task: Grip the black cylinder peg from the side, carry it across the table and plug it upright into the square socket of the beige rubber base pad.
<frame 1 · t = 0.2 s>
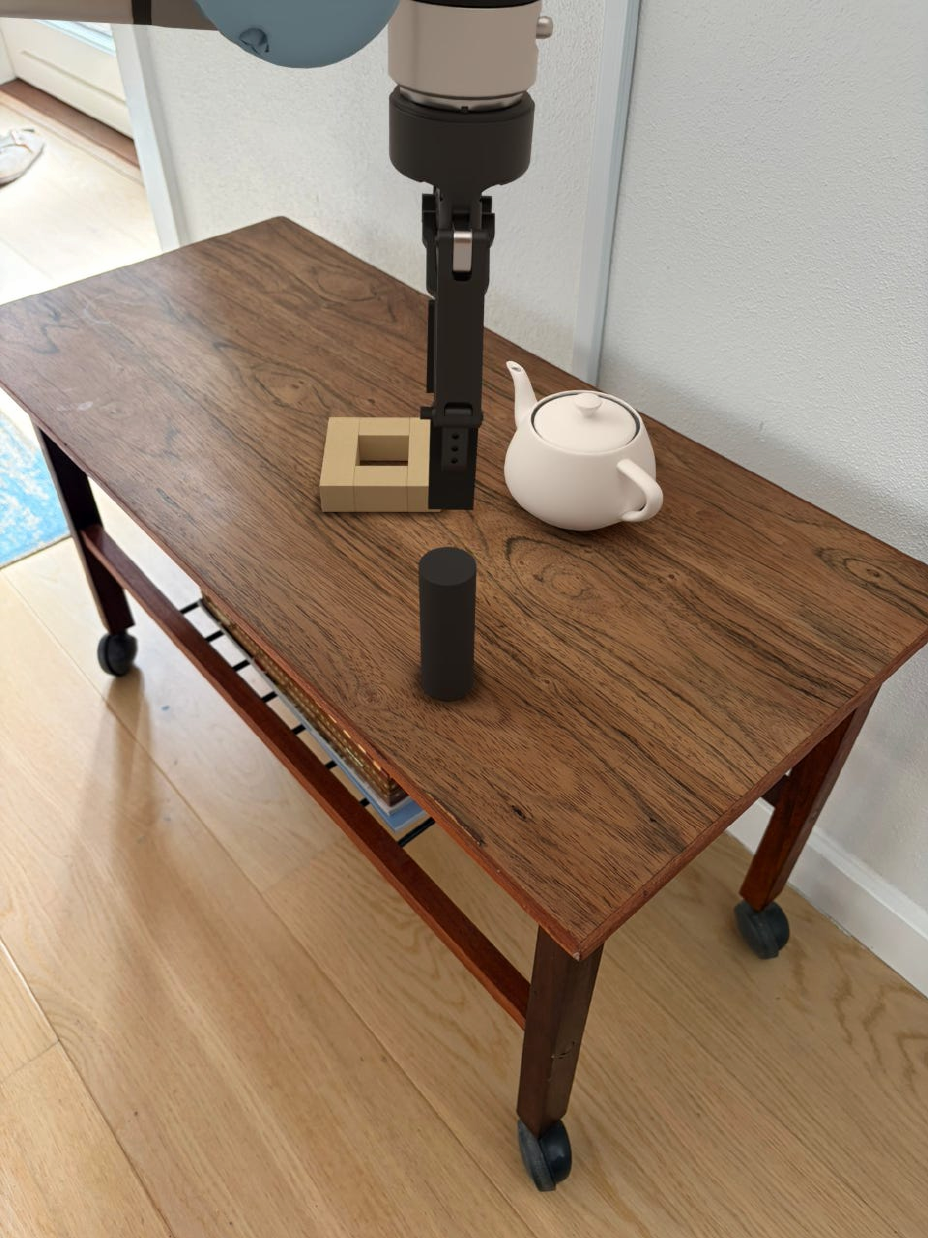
hand: (447, 444, 66), 20 cm above the table, tool pointing down, fingers open, 13 cm apart
black cylinder peg: (447, 681, 78), on the table
teapot: (571, 495, 95), on the table
base pad: (384, 476, 97), on the table
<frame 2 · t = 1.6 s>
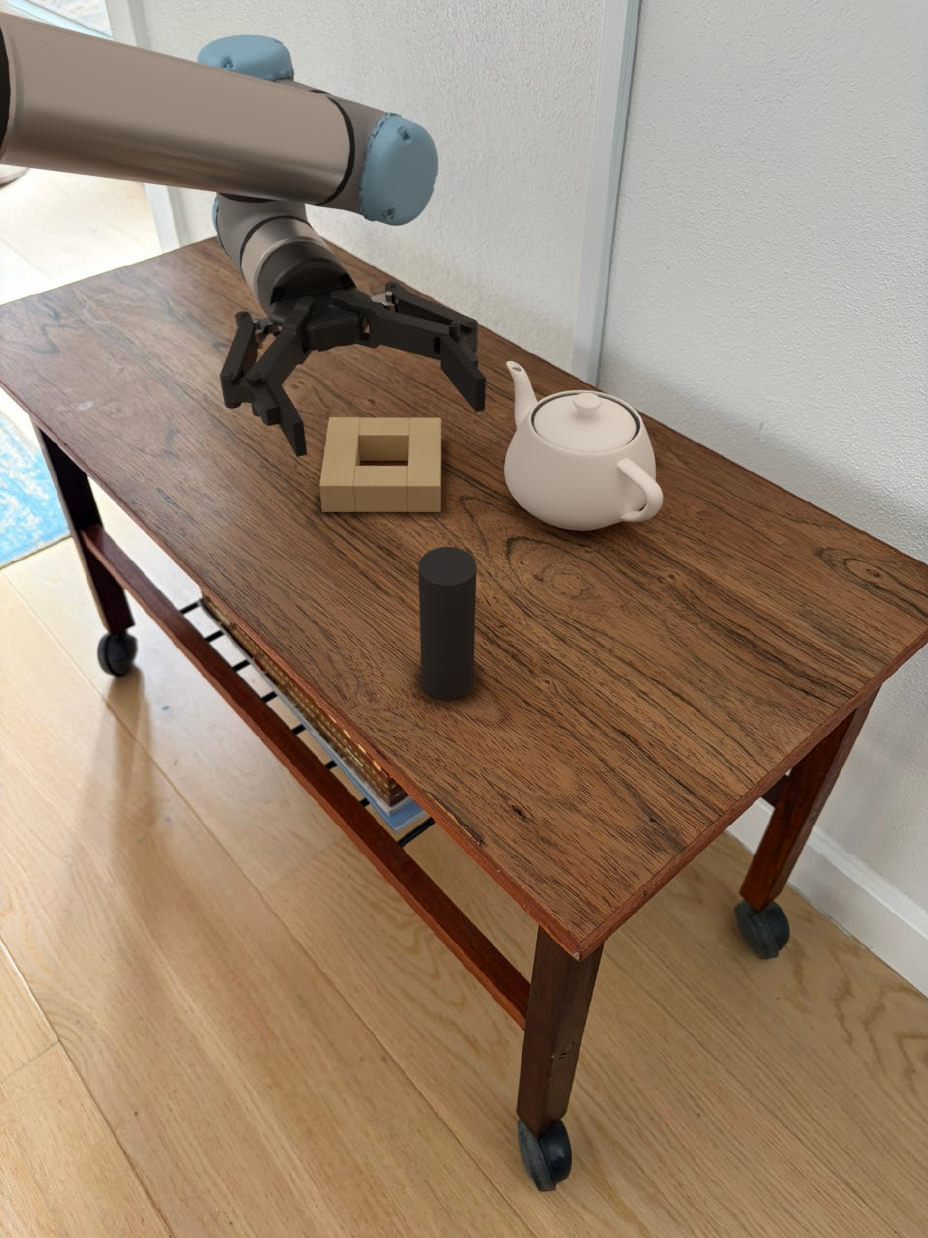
hand: (393, 417, 72), 18 cm above the table, tool horizontal, fingers open, 13 cm apart
nothing on the table moved.
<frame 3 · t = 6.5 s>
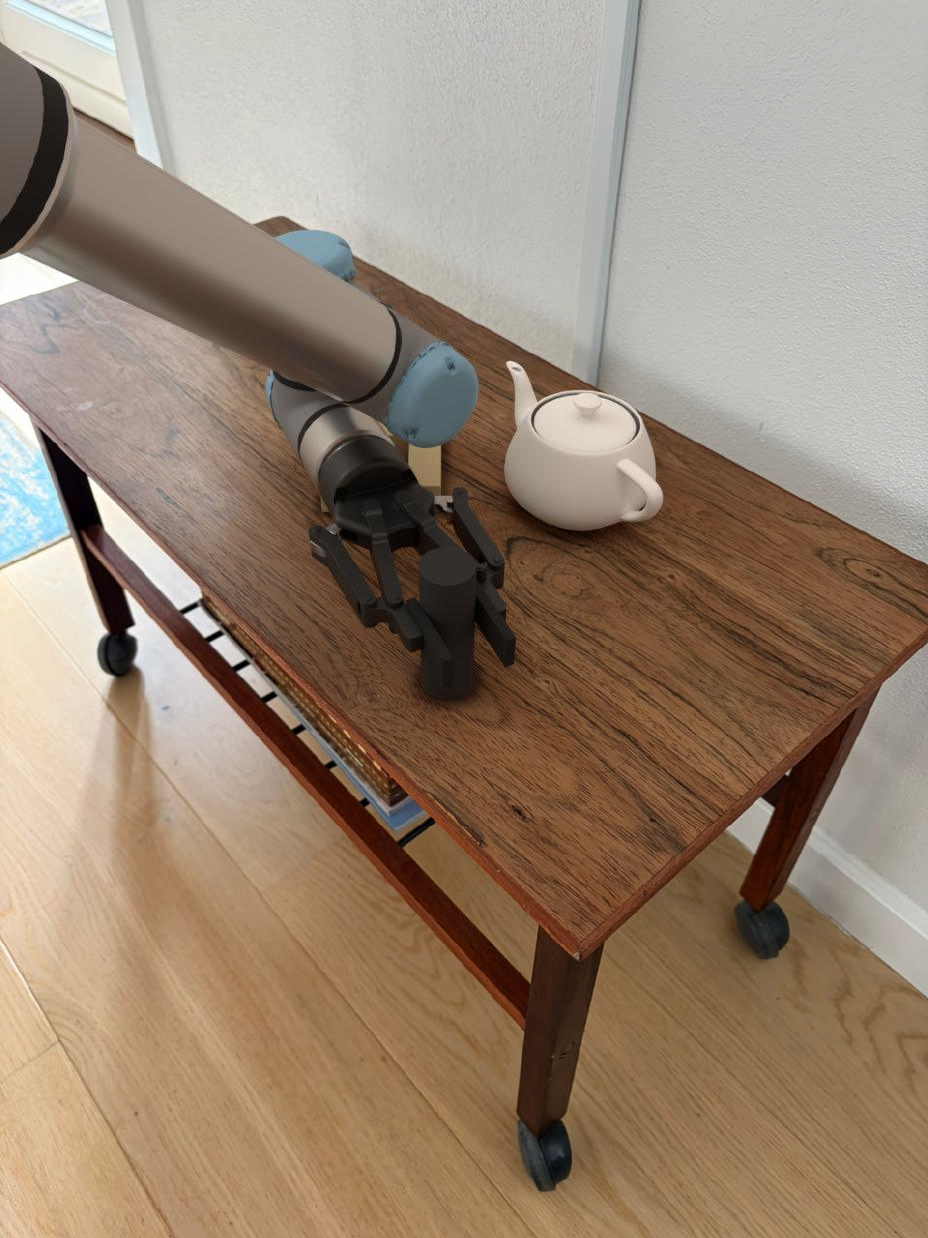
hand: (479, 662, 70), 8 cm above the table, tool horizontal, fingers closed on black cylinder peg, 4 cm apart
black cylinder peg: (447, 681, 79), on the table, touching gripper
everything else where it was.
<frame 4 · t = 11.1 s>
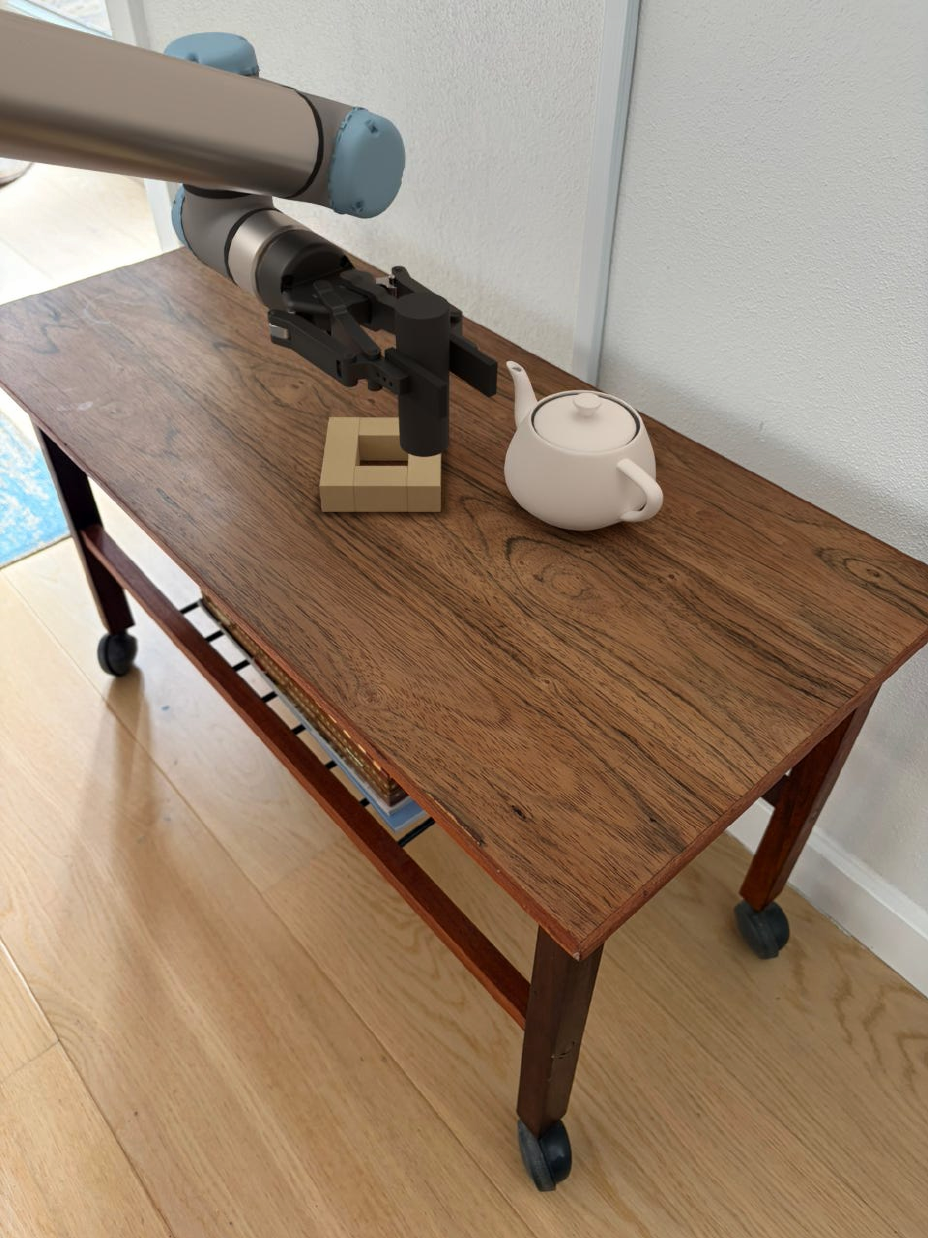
hand: (468, 390, 74), 18 cm above the table, tool horizontal, fingers closed on black cylinder peg, 4 cm apart
black cylinder peg: (424, 442, 82), point 11 cm above the table, touching gripper
everything else where it was.
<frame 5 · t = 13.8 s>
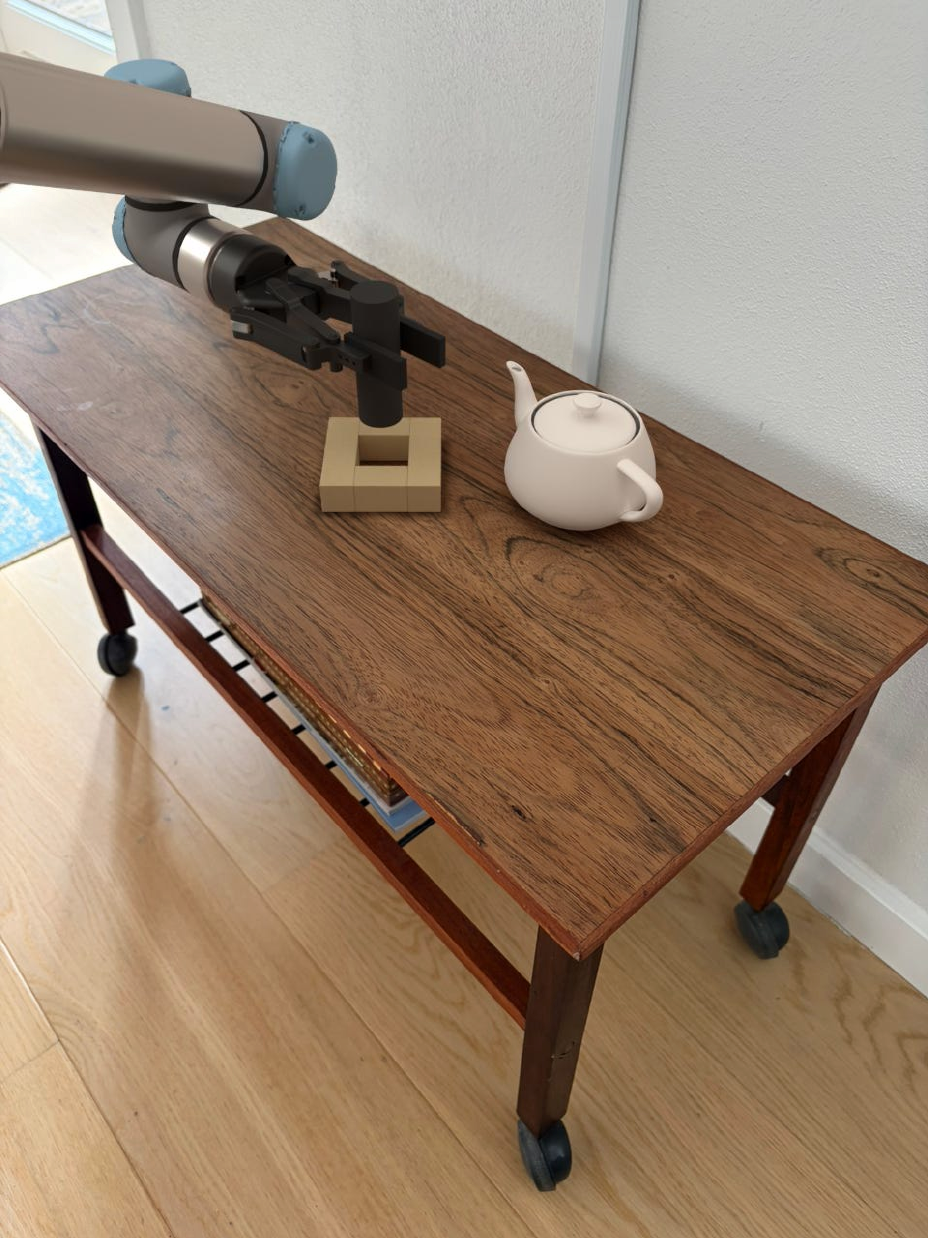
hand: (423, 363, 84), 14 cm above the table, tool horizontal, fingers closed on black cylinder peg, 4 cm apart
black cylinder peg: (381, 415, 92), point 7 cm above the table, touching gripper
everything else where it was.
when the fingers open (8 cm above the table, at t = 15.9 s): black cylinder peg stays where it is, resting in base pad.
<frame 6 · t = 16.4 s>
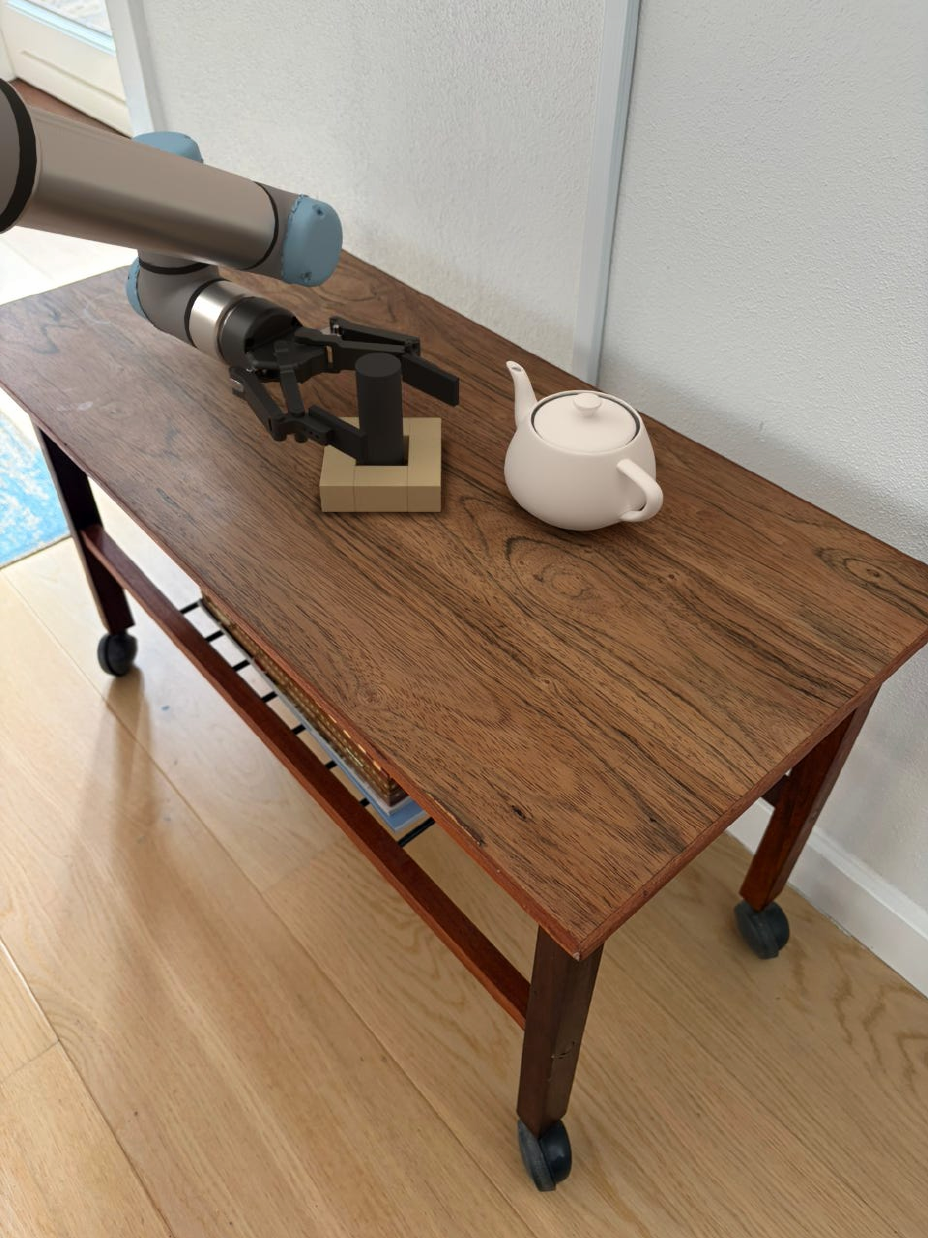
hand: (412, 419, 89), 8 cm above the table, tool horizontal, fingers open, 11 cm apart
black cylinder peg: (383, 476, 97), resting in base pad
everything else where it was.
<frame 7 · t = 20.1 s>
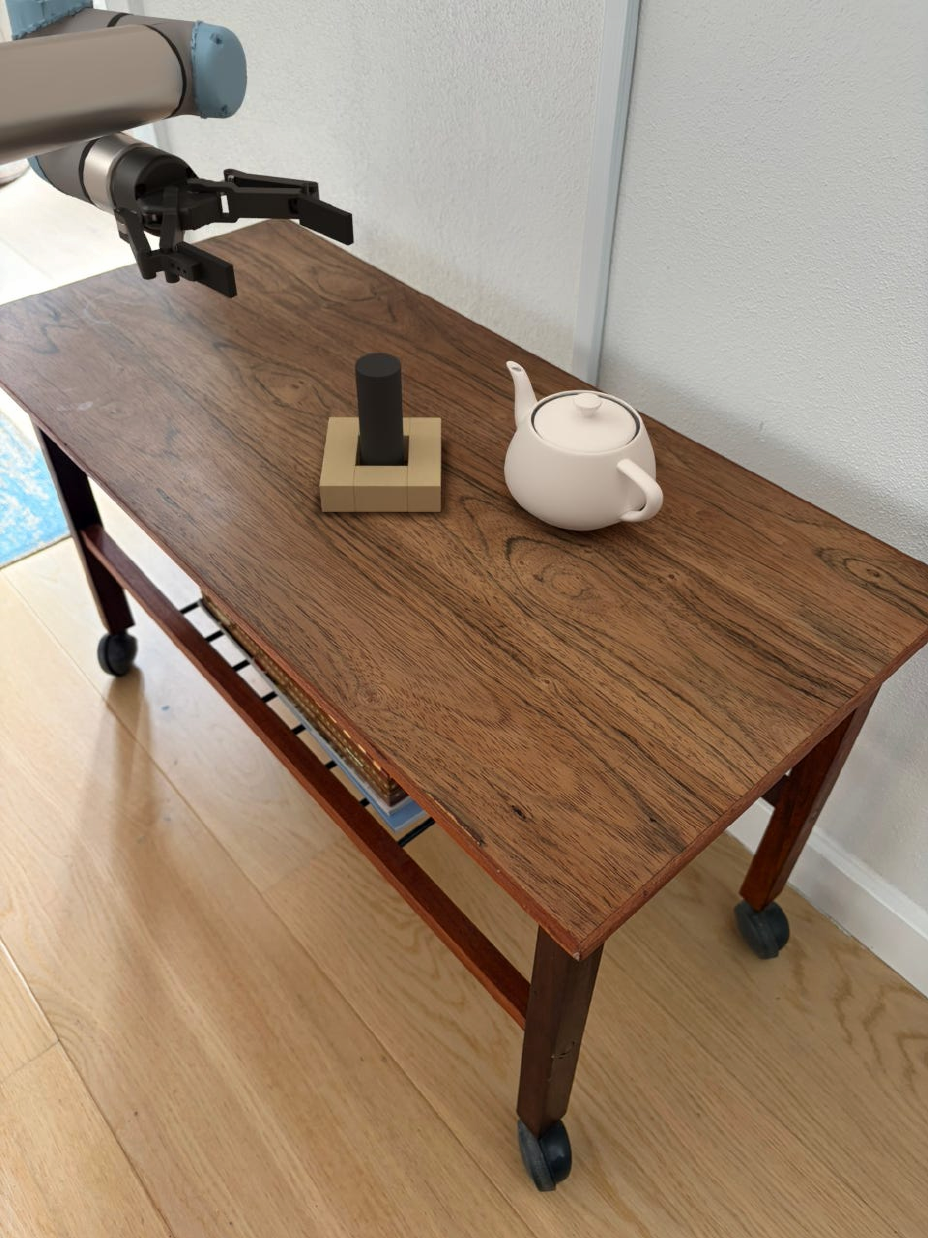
hand: (293, 254, 88), 19 cm above the table, tool horizontal, fingers open, 13 cm apart
nothing on the table moved.
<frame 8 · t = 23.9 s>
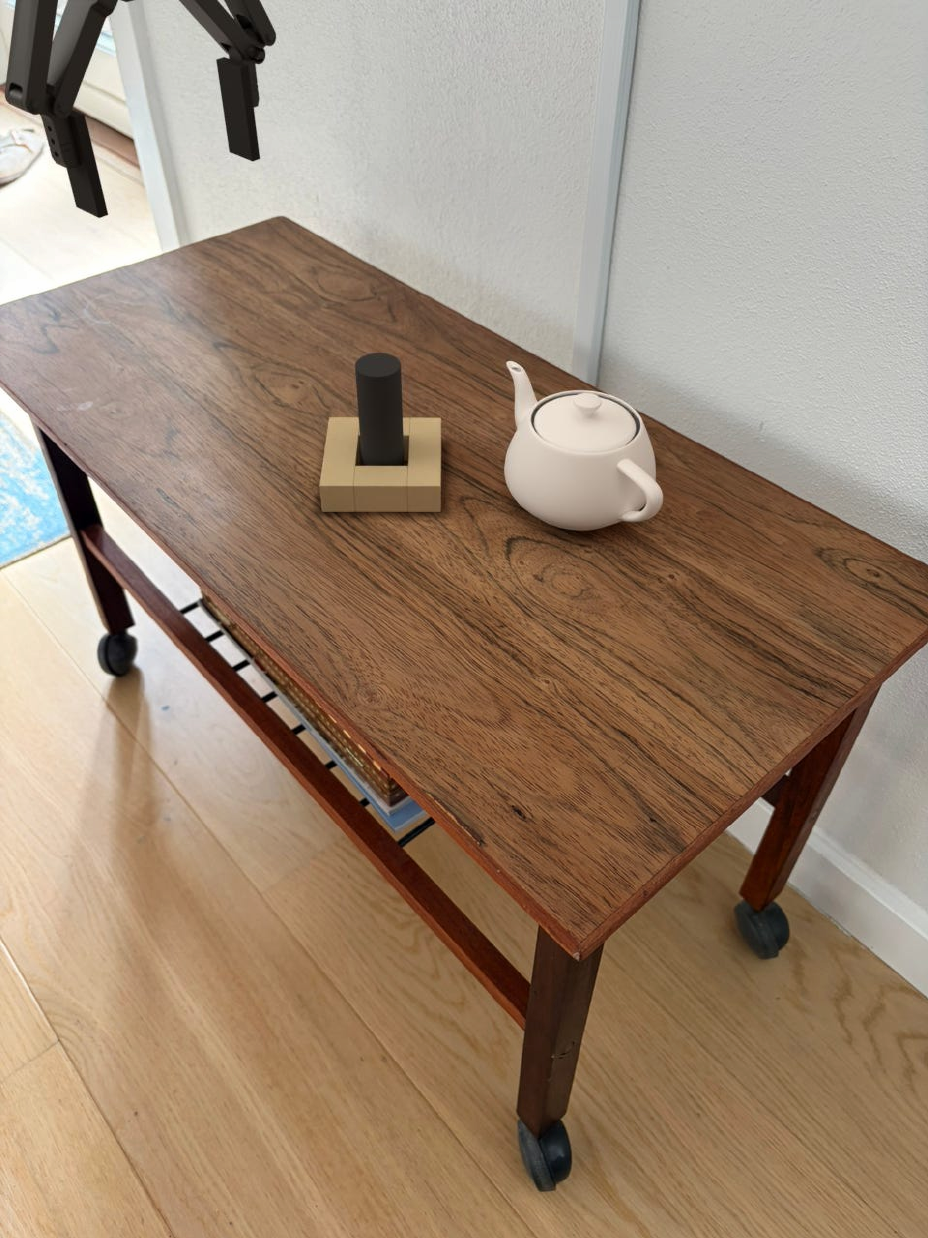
hand: (172, 182, 74), 29 cm above the table, tool pointing down, fingers open, 13 cm apart
nothing on the table moved.
at the end: black cylinder peg 0.0 cm off-centre in the base pad, point 0.0 cm above the base pad's base; black cylinder peg tilted 0°; the gripper is holding nothing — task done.
